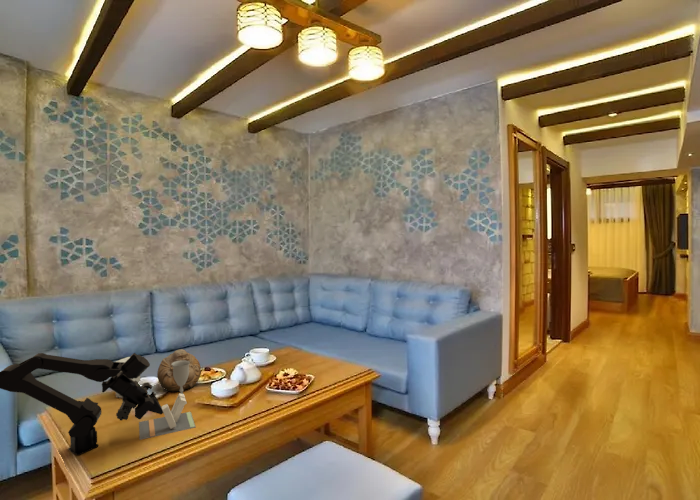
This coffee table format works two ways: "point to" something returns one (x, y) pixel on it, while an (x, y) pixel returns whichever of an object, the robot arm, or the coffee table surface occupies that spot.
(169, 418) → the handle
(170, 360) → the buddha statue
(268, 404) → the coffee table surface
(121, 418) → the robot arm
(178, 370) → the chalice
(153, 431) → the slat rack base
